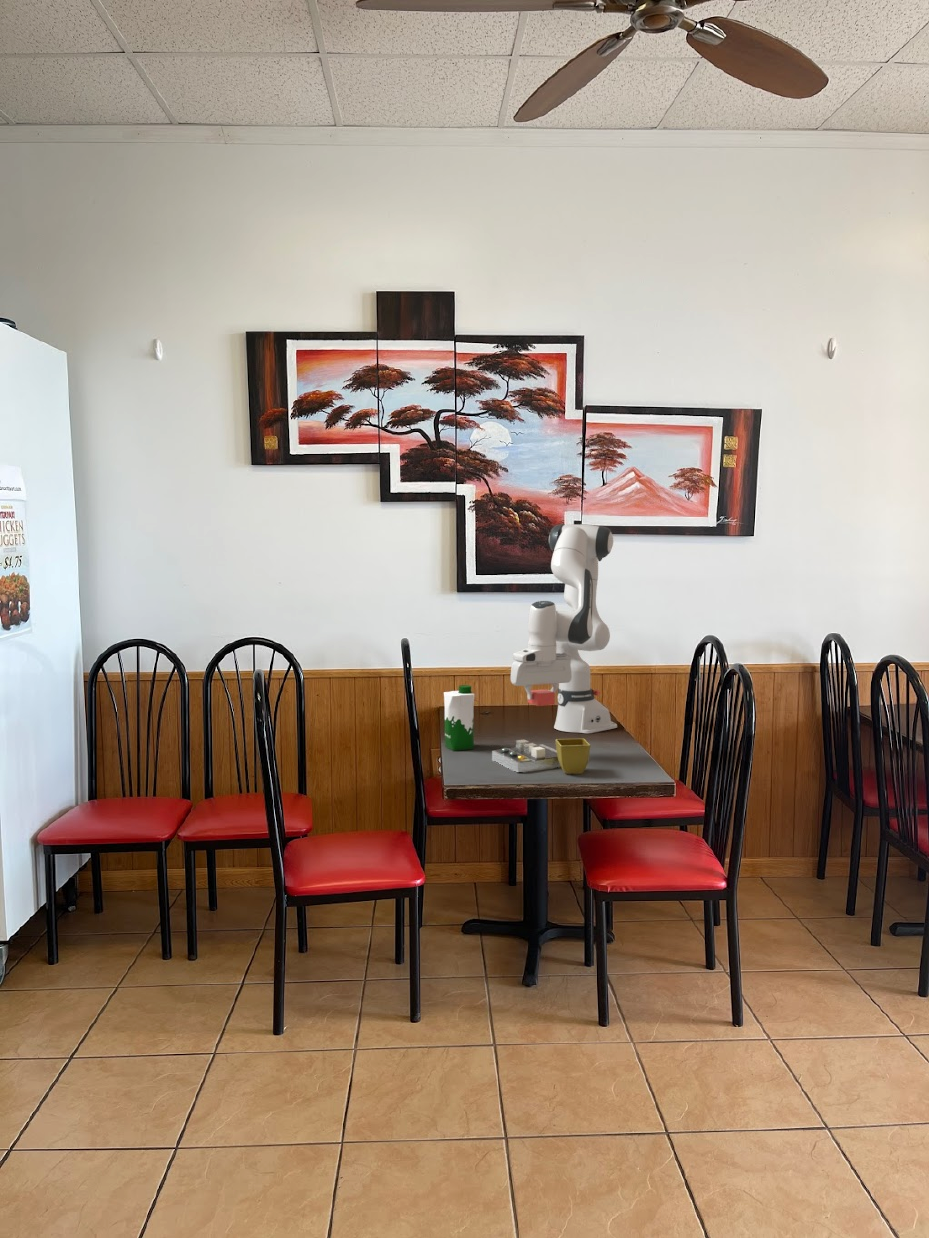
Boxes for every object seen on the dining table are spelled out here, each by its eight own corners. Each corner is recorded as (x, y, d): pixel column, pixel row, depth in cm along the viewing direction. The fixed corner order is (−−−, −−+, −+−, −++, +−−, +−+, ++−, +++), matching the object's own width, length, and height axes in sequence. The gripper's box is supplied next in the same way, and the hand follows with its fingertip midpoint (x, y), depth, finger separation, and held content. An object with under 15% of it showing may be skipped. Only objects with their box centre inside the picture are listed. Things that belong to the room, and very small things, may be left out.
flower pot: (554, 768, 270) (555, 738, 269) (583, 767, 271) (584, 737, 270) (560, 776, 262) (560, 745, 261) (590, 775, 262) (590, 745, 261)
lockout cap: (544, 701, 287) (544, 689, 286) (554, 704, 281) (554, 692, 281) (527, 702, 284) (528, 690, 284) (537, 705, 279) (537, 693, 278)
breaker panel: (542, 753, 287) (542, 735, 287) (570, 765, 273) (570, 747, 272) (492, 760, 279) (492, 742, 279) (517, 773, 265) (517, 754, 264)
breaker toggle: (539, 754, 273) (540, 746, 273) (545, 757, 270) (545, 748, 270) (531, 755, 272) (531, 747, 272) (536, 758, 269) (536, 749, 269)
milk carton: (477, 749, 293) (477, 687, 291) (451, 752, 290) (451, 690, 287) (466, 743, 301) (466, 683, 299) (441, 745, 298) (440, 685, 295)
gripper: (565, 651, 289) (564, 694, 290) (508, 654, 280) (507, 698, 281) (576, 653, 283) (575, 697, 284) (518, 656, 274) (517, 702, 275)
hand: (541, 698), depth 282 cm, fingers closed on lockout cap, 6 cm apart
